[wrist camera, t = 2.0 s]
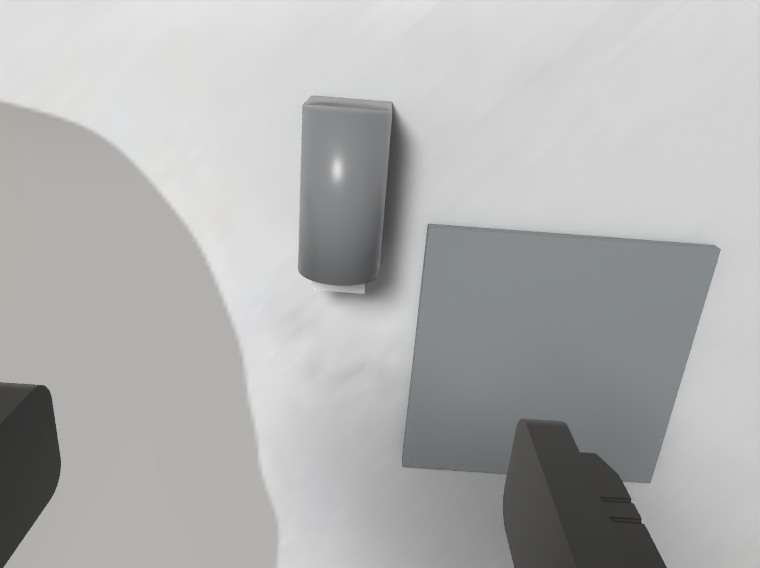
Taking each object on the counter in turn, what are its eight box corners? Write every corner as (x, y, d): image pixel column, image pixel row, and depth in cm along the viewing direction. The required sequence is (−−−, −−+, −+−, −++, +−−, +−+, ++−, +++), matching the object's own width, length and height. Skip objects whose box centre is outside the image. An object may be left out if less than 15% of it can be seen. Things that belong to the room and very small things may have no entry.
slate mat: (714, 245, 31) (720, 249, 30) (646, 476, 36) (650, 483, 36) (427, 223, 30) (428, 227, 30) (402, 459, 36) (402, 466, 35)
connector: (391, 102, 28) (393, 118, 24) (378, 271, 32) (376, 314, 27) (311, 95, 28) (297, 110, 24) (306, 266, 31) (292, 308, 27)
